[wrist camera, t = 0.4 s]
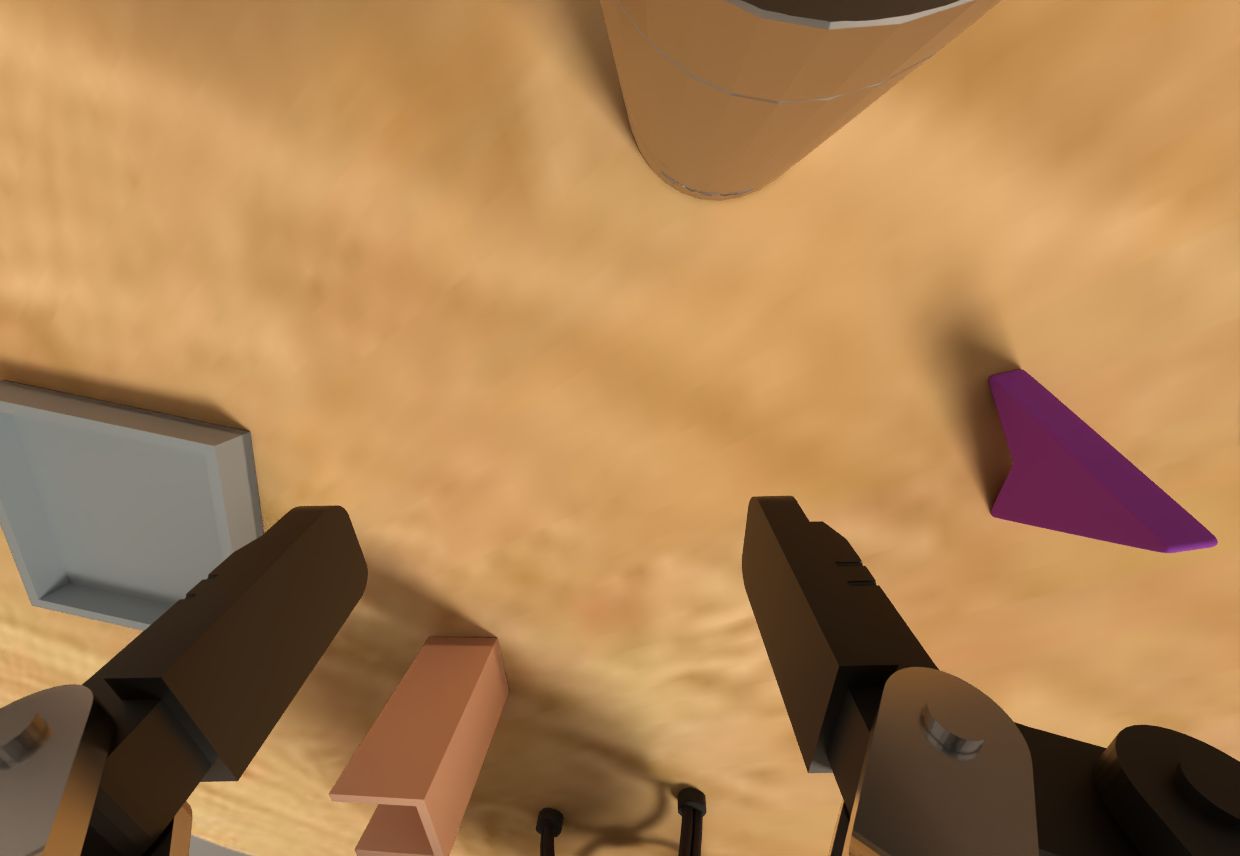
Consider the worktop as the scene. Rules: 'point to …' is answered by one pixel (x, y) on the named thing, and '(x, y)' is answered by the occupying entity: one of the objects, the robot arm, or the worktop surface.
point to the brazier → (688, 808)
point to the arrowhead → (1080, 477)
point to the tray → (119, 502)
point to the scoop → (427, 748)
